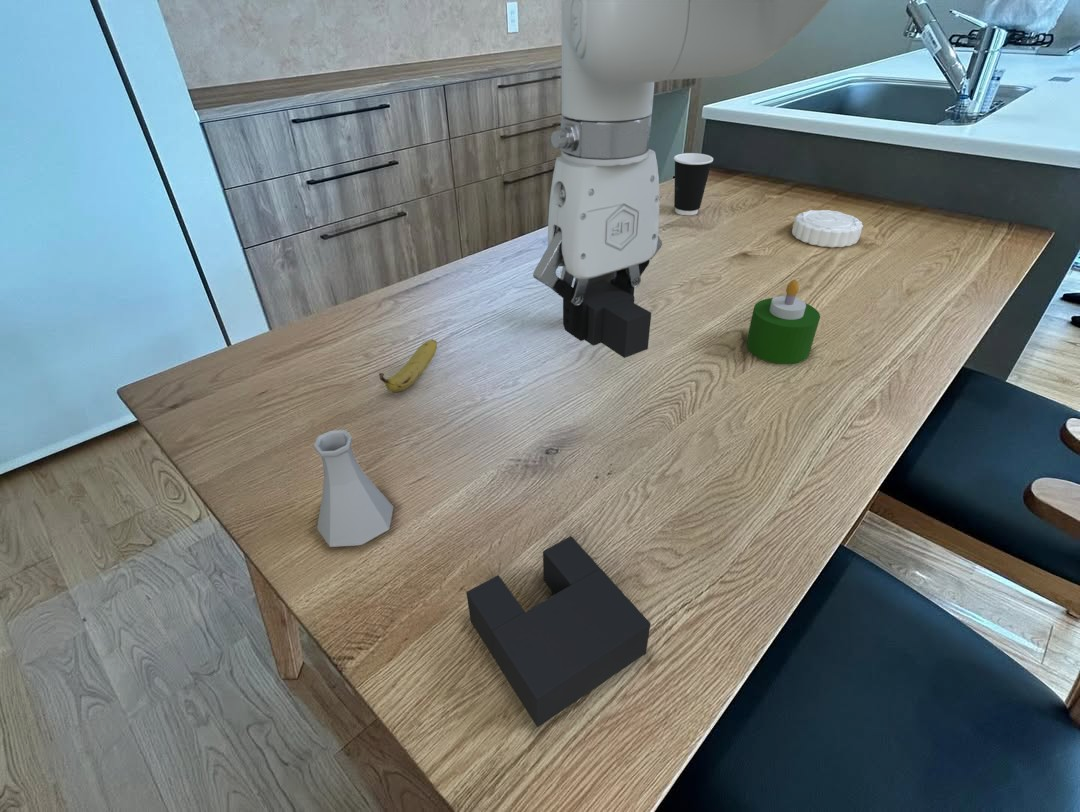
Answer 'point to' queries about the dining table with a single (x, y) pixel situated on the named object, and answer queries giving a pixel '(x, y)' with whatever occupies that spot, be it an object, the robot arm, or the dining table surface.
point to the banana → (411, 368)
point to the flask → (348, 495)
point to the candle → (782, 328)
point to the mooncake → (827, 228)
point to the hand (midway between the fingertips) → (598, 325)
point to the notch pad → (559, 631)
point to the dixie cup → (690, 181)
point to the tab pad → (616, 319)
